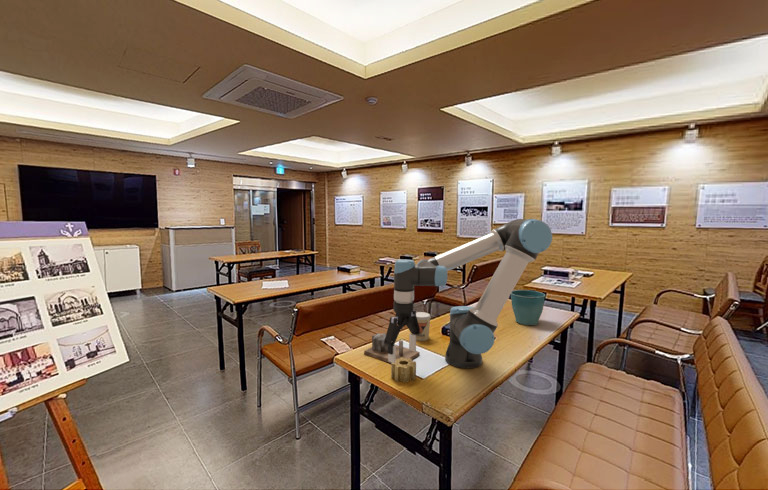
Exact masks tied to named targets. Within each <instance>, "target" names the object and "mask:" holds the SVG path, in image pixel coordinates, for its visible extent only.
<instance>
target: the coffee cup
mask: <svg viewBox="0 0 768 490" xmlns="http://www.w3.org/2000/svg"><path fill="white" fill-rule="evenodd" d="M416 317H417V321H418V324H419V328H420V331H418V332H419V334H418V335H417V334H416V341H421V342H423V341H424V342H425V341H427V340H429V338H430V326H431V314H430V313H428V312H424V311H423V312H422V311H416Z"/></svg>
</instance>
